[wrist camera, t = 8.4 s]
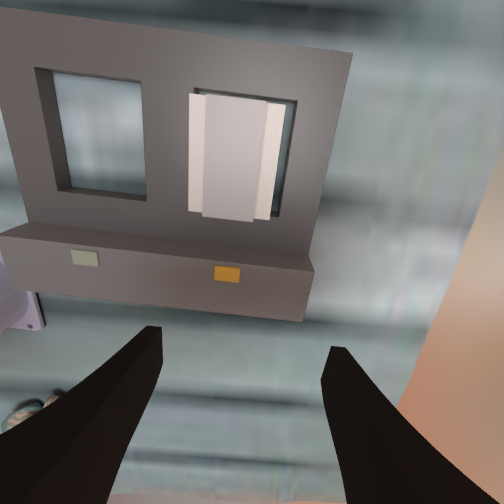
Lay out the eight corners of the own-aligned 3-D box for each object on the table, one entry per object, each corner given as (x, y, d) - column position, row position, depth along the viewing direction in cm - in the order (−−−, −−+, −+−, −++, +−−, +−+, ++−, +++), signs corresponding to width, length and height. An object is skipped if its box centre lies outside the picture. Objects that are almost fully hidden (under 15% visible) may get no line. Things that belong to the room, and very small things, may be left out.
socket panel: (54, 263, 22) (9, 291, 18) (-2, 13, 15) (-91, -26, 11) (295, 290, 22) (302, 324, 18) (345, 59, 15) (373, 35, 12)
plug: (210, 186, 19) (185, 214, 12) (214, 106, 17) (185, 91, 10) (266, 192, 19) (269, 224, 12) (277, 113, 17) (287, 103, 10)
